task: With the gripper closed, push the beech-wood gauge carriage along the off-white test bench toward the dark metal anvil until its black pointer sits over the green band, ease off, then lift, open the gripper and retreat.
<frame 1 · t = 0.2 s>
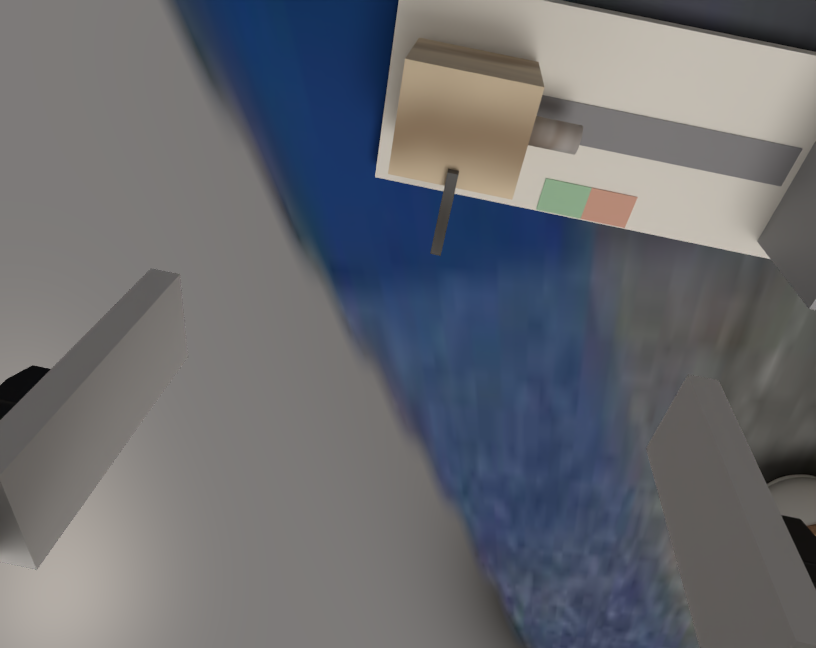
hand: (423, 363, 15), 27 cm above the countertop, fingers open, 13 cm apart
gauge carriage: (482, 158, 34), point 6 cm above the countertop, slide at 0.0 cm
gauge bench: (623, 124, 37), on the countertop
lidded jar: (791, 494, 54), on the countertop
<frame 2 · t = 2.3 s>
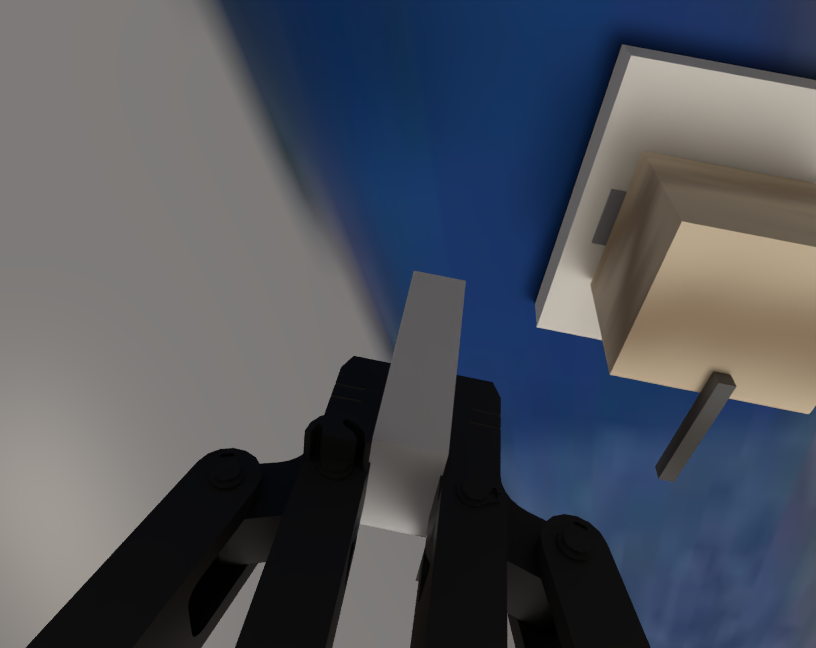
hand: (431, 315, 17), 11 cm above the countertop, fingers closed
gauge carriage: (740, 334, 22), point 6 cm above the countertop, slide at 0.0 cm
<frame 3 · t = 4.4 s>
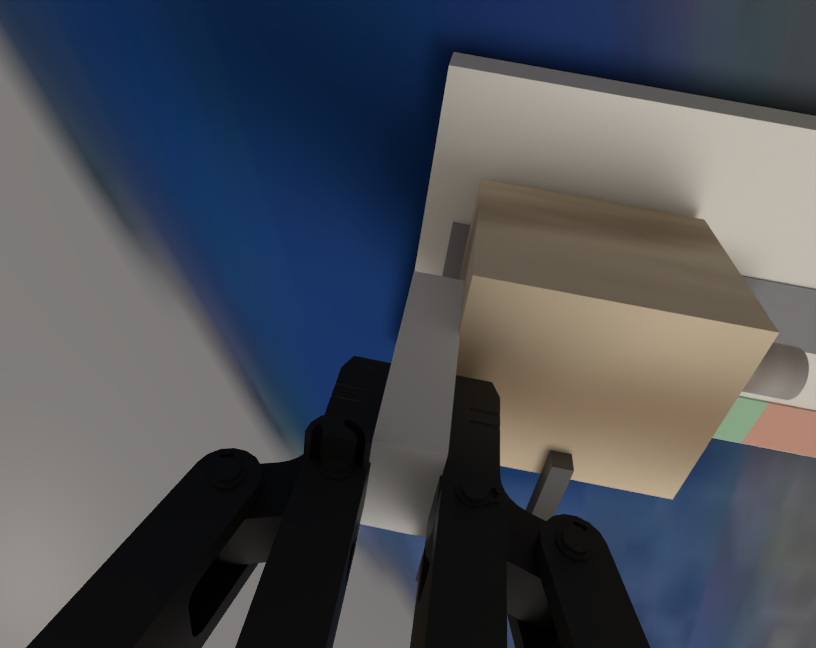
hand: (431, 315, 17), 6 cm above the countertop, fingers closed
gauge carriage: (601, 397, 18), point 6 cm above the countertop, slide at 0.1 cm, touching gripper
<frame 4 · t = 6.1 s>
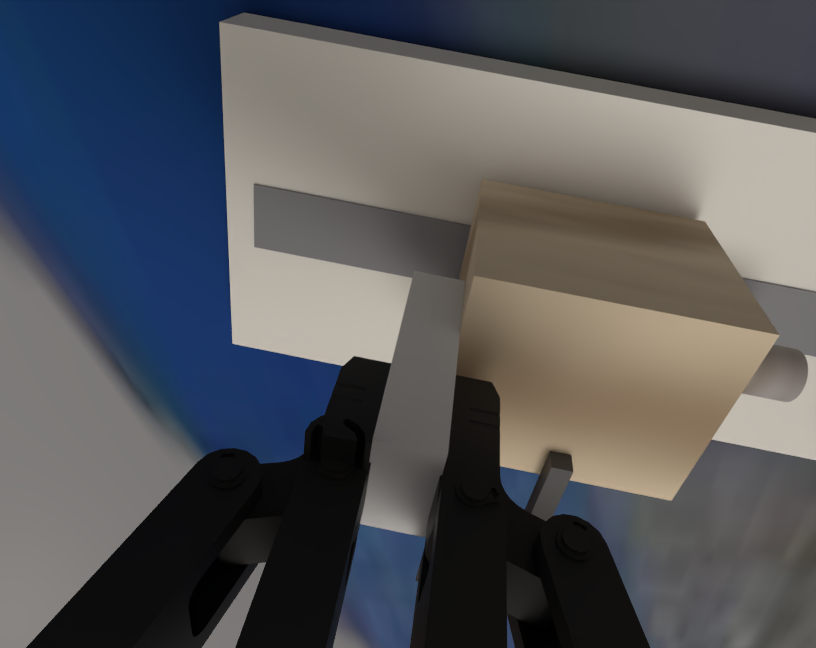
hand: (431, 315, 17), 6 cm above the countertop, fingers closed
gauge carriage: (600, 397, 18), point 6 cm above the countertop, slide at 6.9 cm, touching gripper
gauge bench: (639, 264, 22), on the countertop
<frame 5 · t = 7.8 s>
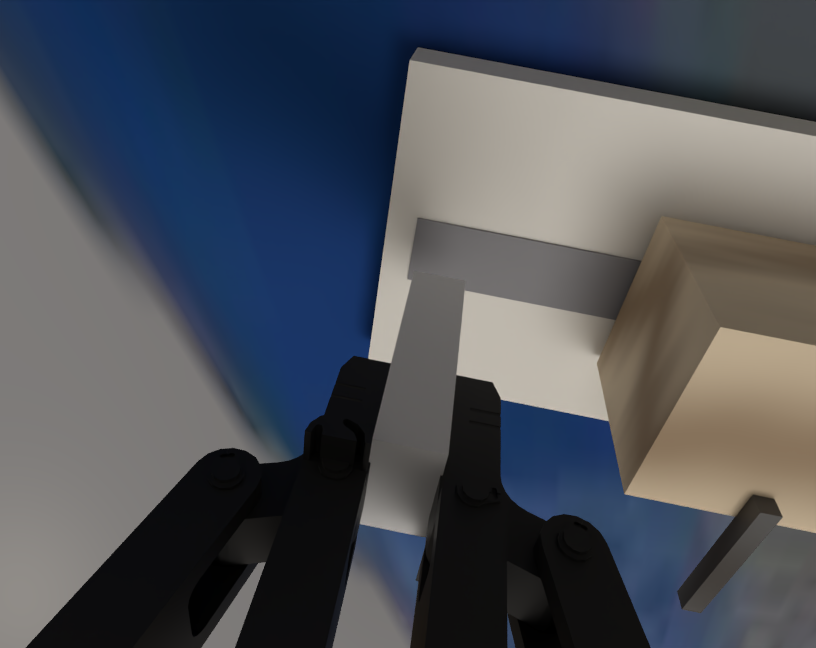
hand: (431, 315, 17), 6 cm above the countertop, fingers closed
gauge carriage: (779, 436, 18), point 6 cm above the countertop, slide at 7.0 cm
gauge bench: (789, 295, 22), on the countertop
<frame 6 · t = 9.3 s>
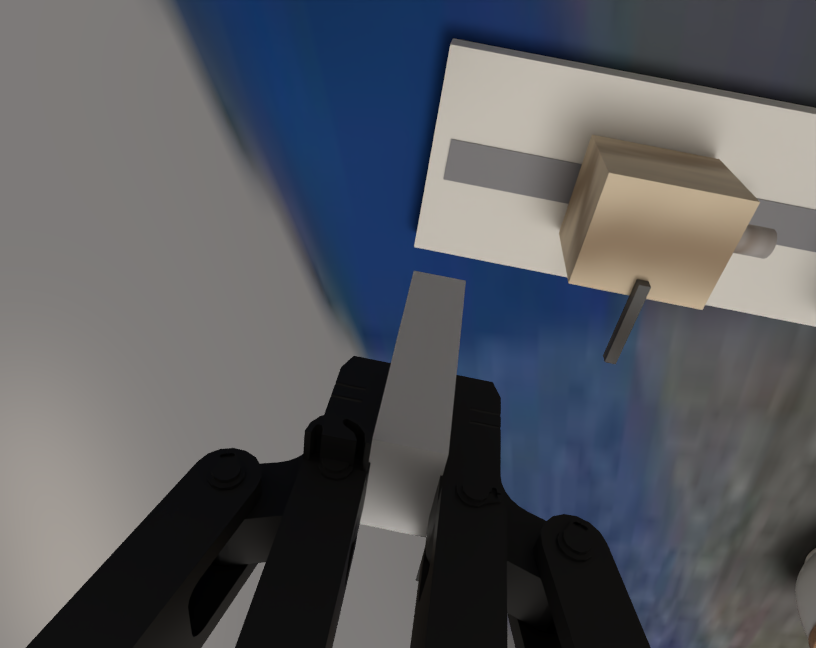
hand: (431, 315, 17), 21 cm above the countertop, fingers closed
gauge carriage: (659, 260, 32), point 6 cm above the countertop, slide at 7.0 cm
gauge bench: (677, 192, 35), on the countertop
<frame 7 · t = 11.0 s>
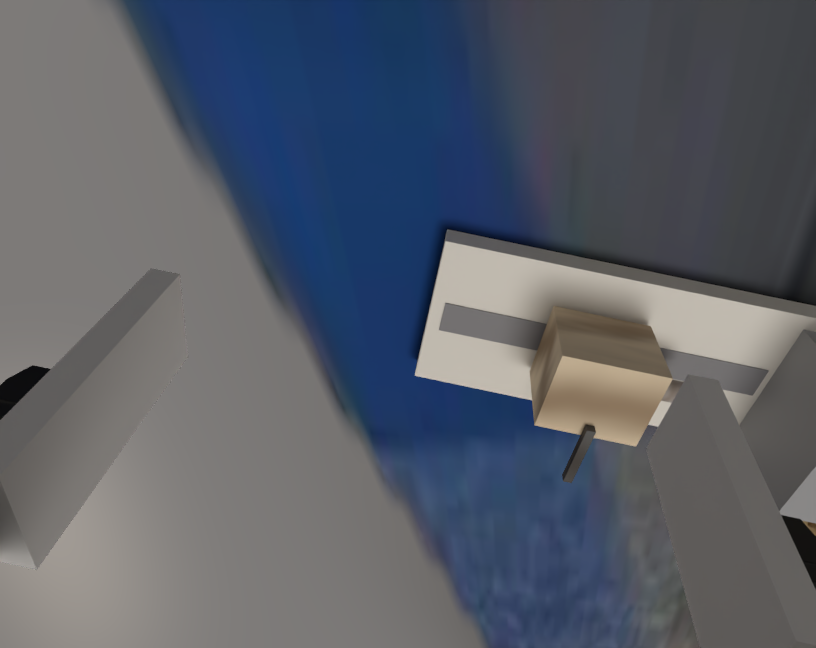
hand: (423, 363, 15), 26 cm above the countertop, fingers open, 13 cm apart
gauge carriage: (605, 403, 41), point 6 cm above the countertop, slide at 7.0 cm
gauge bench: (622, 339, 45), on the countertop
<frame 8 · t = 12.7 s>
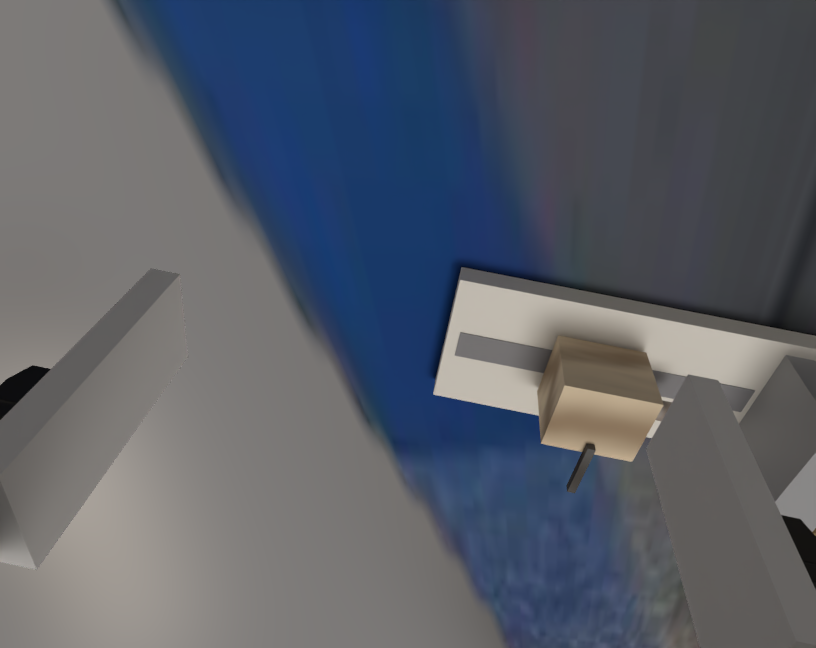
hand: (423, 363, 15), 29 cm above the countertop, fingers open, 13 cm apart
gauge carriage: (605, 422, 46), point 6 cm above the countertop, slide at 7.0 cm
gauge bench: (621, 361, 49), on the countertop
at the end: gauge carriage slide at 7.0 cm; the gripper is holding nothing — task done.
